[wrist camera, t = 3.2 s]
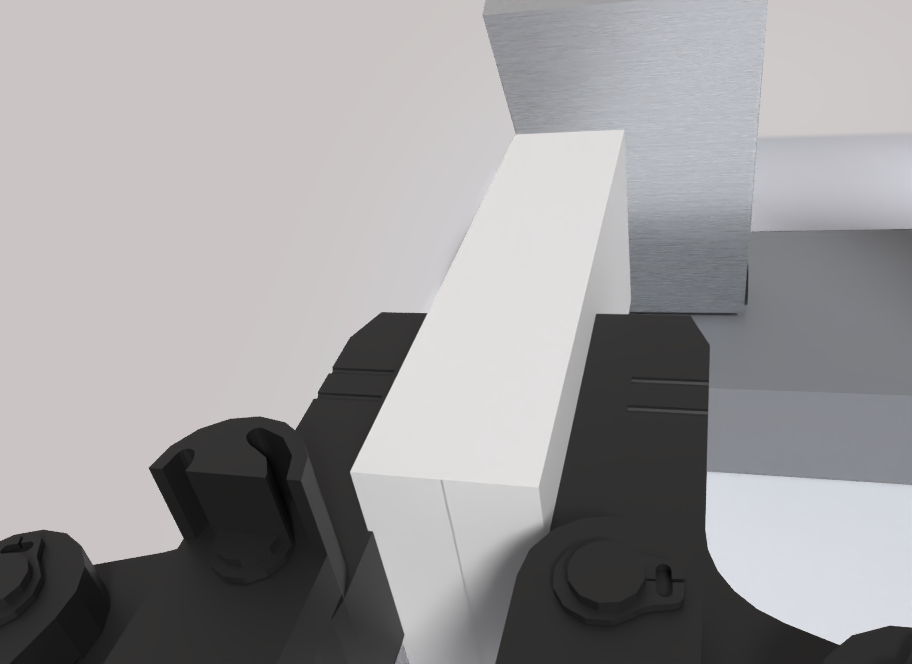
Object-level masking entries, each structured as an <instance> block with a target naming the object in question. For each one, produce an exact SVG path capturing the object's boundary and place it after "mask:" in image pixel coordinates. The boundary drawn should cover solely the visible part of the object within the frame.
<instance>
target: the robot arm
mask: <svg viewBox="0 0 912 664" xmlns="http://www.w3.org/2000/svg"><path fill="white" fill-rule="evenodd" d="M630 303H631V287H630V260H629V234H628V208H627V182H626V156H625V130H605V131H582V132H560V133H537V134H516V135H515V136H514V138H513V140H512V142H511V144H510V146H509V148H508V150H507V152H506V154H505V156H504V158H503V160H502V162H501V164H500V166H499V168H498V170H497V172H496V174H495V176H494V178H493V180H492V183H491V185H490V187H489V189H488V191H487V193H486V195H485V197H484V199H483V201H482V203H481V205H480V207H479V209H478V211H477V213H476V215H475V217H474V219H473V221H472V223H471V225H470V228H469V230H468V232H467V234H466V236H465V238H464V240H463V242H462V244H461V246H460V248H459V250H458V252H457V254H456V256H455V258H454V260H453V262H452V264H451V266H450V268H449V270H448V273H447V275H446V277H445V279H444V281H443V283H442V285H441V287H440V289H439V291H438V293H437V295H436V297H435V299H434V301H433V303H432V305H431V307H430V309H429V311H428V313H386V312H382V313H380V314H379V315H378V316H376V317H375V318H374V319H373V320H371V321H370V322H369V323H368V324H366V325H365V326H364V327H363V328H362V329H360V330H359V331H358V332H357V333H355V334H354V335H353V336H352V337H350V339H349V341H348V342H347V344H346V345H345V347H344V349H343V351H342V352H341V354H340V356H339V357H338V359H337V361H336V362H335V364H334V366H333V372H332V374H328V376H327V378H326V379H325V381H324V383H323V384H322V386H321V388H320V390H319V391H318V398H317V399H314V400H313V401H312V403H311V405H310V407H309V408H308V410H307V412H306V413H305V415H304V417H303V418H302V420H301V422H300V423H299V425H298V427H297V428H296V430H294V429H293V428H291V427H290V426H289V425H288V424H286V423H285V422H281V421H277V420H273V419H268V418H264V417H249V418H237V419H229V420H226V421H222V422H220V423H216V424H213V425H210V426H207V427H204V428H201V429H198V430H197V431H195V432H193V433H192V434H190V435H188V436H187V437H185V438H183V439H182V440H180V441H178V442H177V443H175V444H173V445H172V446H170V447H169V448H168V449H167V450H166V451H165V452H164V453H163V454H162V455H161V456H160V457H159V458H158V459H157V460H156V461H155V462H154V463H153V464H152V465H151V466H150V467H149V470H150V471H151V473H152V476H153V478H154V479H155V482H156V483H157V486H158V488H159V490H160V492H161V493H162V495H163V498H164V499H165V502H166V503H167V506H168V507H169V510H170V512H171V514H172V516H173V518H174V520H175V522H176V524H177V526H178V528H179V530H180V532H181V534H182V536H183V538H184V539H183V541H182V542H181V544H180V546H179V547H178V549H175V550H172V551H168V552H164V553H158V554H153V555H147V556H141V557H136V558H130V559H124V560H119V561H113V562H108V563H102V564H96V565H92V563H91V561H90V560H89V558H88V556H87V555H86V553H85V551H84V550H83V548H82V546H81V545H80V544H78V543H77V542H76V541H75V540H74V539H72V538H71V537H70V536H69V535H68V534H66V533H60V532H54V531H48V530H40V531H34V532H29V533H22V534H17V535H13V536H11V537H9V538H7V539H4V540H2V541H0V664H395V661H396V659H397V656H398V653H399V650H400V647H401V644H402V642H403V645H404V648H405V651H406V655H407V658H408V661H409V664H912V628H910V627H898V626H887V627H883V628H879V629H875V630H872V631H868V632H864V633H860V634H856V635H852V636H851V637H850V638H848V639H847V640H846V641H845V642H844V643H842V644H841V645H838V644H835V643H833V642H830V641H828V640H825V639H823V638H820V637H818V636H815V635H813V634H810V633H808V632H805V631H803V630H800V629H798V628H795V627H793V626H790V625H788V624H785V623H783V622H781V621H779V620H777V619H776V618H774V617H772V616H770V615H768V614H766V613H764V612H762V611H760V610H758V609H756V608H755V607H754V606H753V605H751V604H750V603H749V602H747V601H746V600H745V599H744V598H742V597H741V596H740V595H739V594H737V593H736V592H735V591H734V590H733V589H732V588H731V587H730V585H729V584H728V583H727V582H726V580H725V579H724V578H723V577H722V576H721V574H720V573H719V572H718V571H717V568H716V566H715V564H714V562H713V560H712V558H711V556H710V553H709V551H708V547H707V540H706V533H705V514H706V478H707V441H708V404H709V366H710V344H709V343H708V341H707V340H706V338H705V337H704V335H703V334H702V332H701V331H700V329H699V328H698V326H697V325H696V323H695V322H694V320H693V319H692V317H691V316H690V315H640V314H629V309H630Z"/></svg>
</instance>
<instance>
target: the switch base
mask: <svg viewBox="0 0 912 664" xmlns="http://www.w3.org/2000/svg"><path fill="white" fill-rule="evenodd" d="M748 272H749V274H748V303H747V305H744V313H675V312H629V314H640V315H690V316H691V317H692V319H693V320H694V322H695V323H696V325H697V326H698V328H699V329H700V331H701V332H702V334H703V335H704V337H705V338H706V340H707V341H708V343H709V344H710V366H709V404H708V441H707V471H714V472H729V473H745V474H760V475H775V476H790V477H806V478H821V479H836V480H851V481H867V482H882V483H897V484H912V229H890V230H825V231H760V232H750V237H749V250H748Z"/></svg>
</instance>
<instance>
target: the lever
mask: <svg viewBox="0 0 912 664" xmlns="http://www.w3.org/2000/svg"><path fill="white" fill-rule="evenodd" d="M767 4H768V0H486V2H485V6H484V11H483V19H484V22H485V26H486V29H487V33H488V36H489V40H490V44H491V47H492V50H493V54H494V58H495V61H496V65H497V68H498V72H499V76H500V79H501V83H502V86H503V90H504V93H505V97H506V100H507V104H508V108H509V111H510V115H511V118H512V121H513V125H514V129H515V132H516V134H537V133H560V132H582V131H605V130H625V156H626V182H627V208H628V234H629V260H630V287H631V303H630V309H629V312H675V313H744V305H747V303H748V274H749V272H748V250H749V237H750V224H751V211H752V198H753V185H754V172H755V159H756V146H757V133H758V120H759V107H760V94H761V80H762V69H763V55H764V43H765V30H766V17H767Z"/></svg>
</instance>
